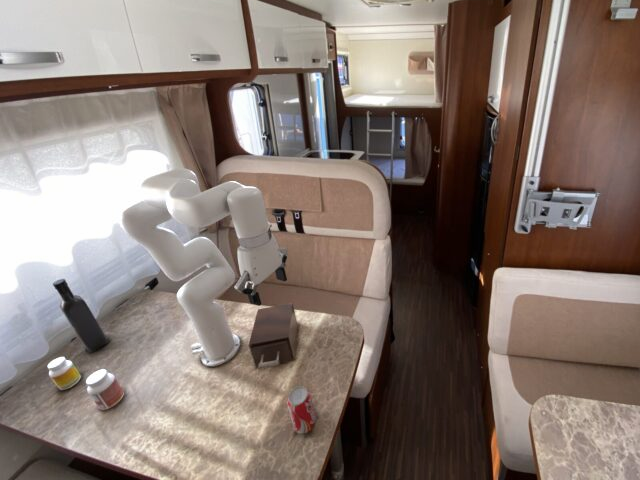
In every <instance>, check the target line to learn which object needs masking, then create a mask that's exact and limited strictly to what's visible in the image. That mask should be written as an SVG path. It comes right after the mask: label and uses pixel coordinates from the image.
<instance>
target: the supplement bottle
mask: <svg viewBox="0 0 640 480" xmlns="http://www.w3.org/2000/svg"><path fill="white" fill-rule="evenodd" d="M47 369H48V370H49V371H48V376H49V377H50V379H51V380H52V382H53V383H54V384H55V386H56V387H57V388H58V389H59V390H60V391H64V390H67V389H70V388H72V387H73V386H75V385H76V384H77V383H78V382H80V380H81V378H82V375H81V373H80V372H79V370H78V369H77V367H76V366H75V365H74V363H73V362H72V360H67V358H65V356H60V357H57V358H55V359H53V360H51V361H50V362H49V363H48V364H47Z"/></svg>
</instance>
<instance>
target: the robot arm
mask: <svg viewBox="0 0 640 480" xmlns="http://www.w3.org/2000/svg"><path fill="white" fill-rule="evenodd" d="M136 194H137V196H138V199H139V201H137V202H134V203H132V204H130V205H129V206H126V207H125V208H123V209H122V211H120V213H119V215H118V223H119V226H120V227H121V229H122V230H123V231H124V233H125V234H126V235H127V236H128V237H130V238H131V239H132V240H133V241H135V242H136V243H138V244H139V245H140V246H142V247H143V248H144V249H145V250H146V251H147V252H148V253H149V255H150V256H151V258H152V259H153V260H154V262H155V263H156V264H157V266H158V267H159V268H160V269H161V271H162V273H164V274H165V276H166V277H168V279H169V280H171V281H173V282H179V281H182V280H184V279H186V278H188V277H189V276H191V275H192V274H194V273H196V272H197V271H199V270H200V269H202V268H204V267H206V269H204V270H203V271H202V272H200V273H198V274H197V275H195V276H194V277H193V278H191V279H189V280H188V281H186V282H185V283H184V284H183V285H182V286H181V287H180V288H179V289H178V291H177V293H176V299H177V301H178V303H179V305H180V306H181V307H182V309H183V310H184V311H185V313H186V315H187V316H188V318H189V320H190V322H191V324H192V327H193V329H194V331H195V333H196V336H197V338H198V341H199V343H198V342H197V343H193V344H191V346H190V347H191V349H190V350H191V351H192V355H193V356H195V355H199V354H200V360H201V363H202V364H203V365H204V366H207V367H218V366H221V365H223V364H225V363H227V362H228V361H230V360H231V359H232V358H233V357H235V356H236V354H237V353H238V351H239V350H240V347H241V339H240V338H239V336H238V335H237V334H234V333H233V332H232V329H231V326H230V324H229V321H228V318H227V315H226V313H225V312H226V311H225V309H224V308H223V306H222V305H221V304H220V303H219V302H217V301H214V300H215V299H216V298H218V297H219V296H220V295H222V293H224V292H225V291H226V290H228V289H229V288H230V287H231V286H232V285H233V284H234V283H235V281H236V274H235V272H234V269H233V268H232V266H231V264H229V262H228V261H227V259H226V258H225V256H224V255H223V253H222V252H221V251H220V249H219V248H218V246H217V245H216V244H215V243H214V241H213V240H211V239H210V238H208V237H206V236H197V237H195V238H193V239H191V240H189V241H187V242H185V243H184V242H183V241H182V240H181V238H180V237H179V236H178V235H177V233H176V232H175V231H173V230H170V229H168V228H165V227H162V226H159V225H162V224H163V223H166V222H168V221H170V220H172V219H174V220H175V221H176V222H177V223H179V224H181V225H183V226H186V227H191V228H206V227H209V226H212V225H213V224H215V223H217V222H219V221H221V220H223V219H225V218H226V217H229V216H231V220H232V224H233V227H234V230H235V233H236V237H237V240H238V244H239V246H238V247H237V262H238V263H237V264H238V267H239V268H238V269H239V274H240V277H239V279H238V280H237V282H236V284H234V286H233V288H234V290H236V291H237V292H239V293H240V294H243V295H246V296H247V298H248V301H249V303H250V304H251V305H255V306H258V307H260V306H261V305H262V300H261V297H260V293H259V291H257V290H258V287H259V284H261V283H262V282H264V281H265V280H266V279H267V278H268V277H269V276H271V275H272V274H273V273H274V274H275V278H276V280H279V281H280V282H281V281H282V282H287V281H288V278H287V274H286V273H287V272H286V269H285V268H286V267H287V263H286V262H287V260H288V256H287V255H288V250H289V249H288V248H287V247H283V246H282V247H279V244H278V242H277V240H276V237H275V235H274V234H273V233H272V230H271V228H272V226H273V225H272V223H271V222H270V221H269V218H268V214H267V209H266V205H265V201H264V197H263V193H262V191H261V190H260V188H258V187H256V186H246V185H243V184H242V183H240V182H237V181H234V180H233V181H232V180H230V181H225V182H223V183H220V184H218V185H216V186H213V187H211V188H209V189H206V190H203V191H202V190H201V188H200V182H199V179H198V177H197V175H196V173H194V172H193V171H192V170H191V169H188V168H185V167H178V168H174V169H171V170H167V171H165V172H162V173H161V172H160V173H159V174H155V175H152V176H150V177H148V178H145V179H144V180H142V181H141V182H140V183H139V185H138V187H137V191H136ZM251 286H252V287H251Z"/></svg>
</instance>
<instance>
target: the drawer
mask: <svg viewBox="0 0 640 480" xmlns="http://www.w3.org/2000/svg"><path fill="white" fill-rule="evenodd" d="M249 350H251V351H250V353H252V354H251V356H253V357H252V360H253V359H254V360H253V363H254V362H255V363H254V366H255V365H256V366H255V367H256V369H258V370H263V369H267V368H271V367H276V366H280V365H281V364H284V363H289V362H292V361H293V360H292V356H291V352H290V348H289V344H288V340H287V339H285V340H280V341H275V342H270V343H265V344H260V345H255V346H252V347H251V349H250V348H249Z"/></svg>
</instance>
